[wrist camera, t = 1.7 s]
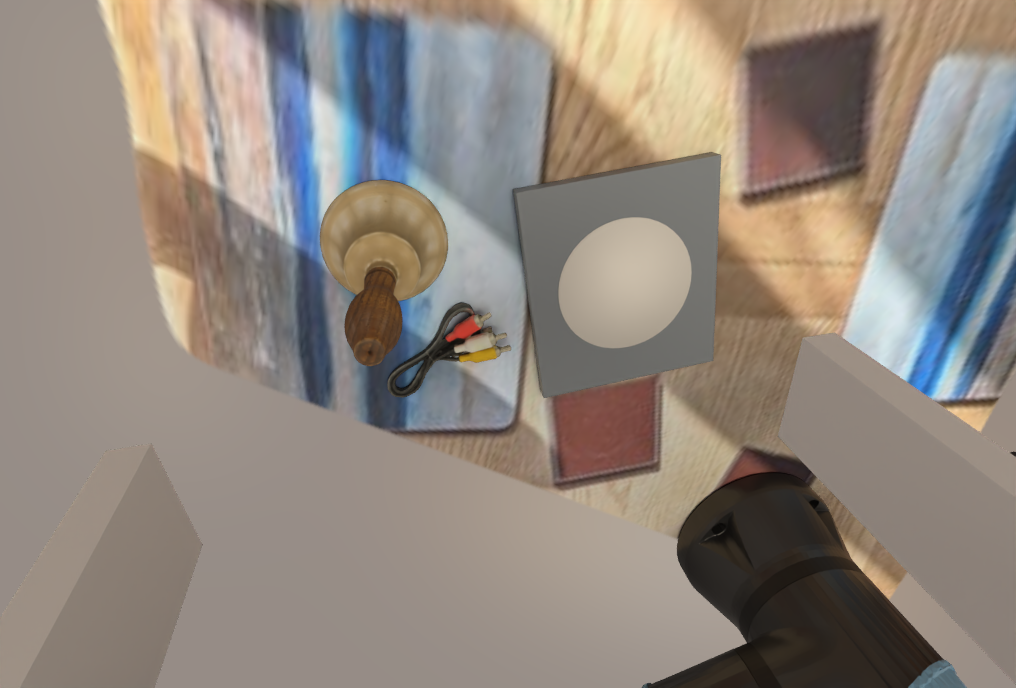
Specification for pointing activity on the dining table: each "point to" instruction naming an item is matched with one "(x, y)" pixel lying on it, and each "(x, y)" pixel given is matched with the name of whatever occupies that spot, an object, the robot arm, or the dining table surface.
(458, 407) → the dining table surface
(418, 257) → the hand bell
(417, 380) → the composite cable
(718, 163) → the board
